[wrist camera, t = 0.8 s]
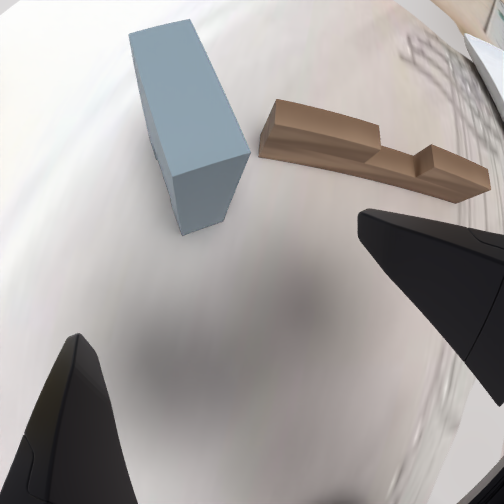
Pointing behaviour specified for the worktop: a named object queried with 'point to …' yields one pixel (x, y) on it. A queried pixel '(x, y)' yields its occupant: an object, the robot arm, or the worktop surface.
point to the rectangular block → (188, 123)
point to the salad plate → (489, 68)
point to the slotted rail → (365, 153)
